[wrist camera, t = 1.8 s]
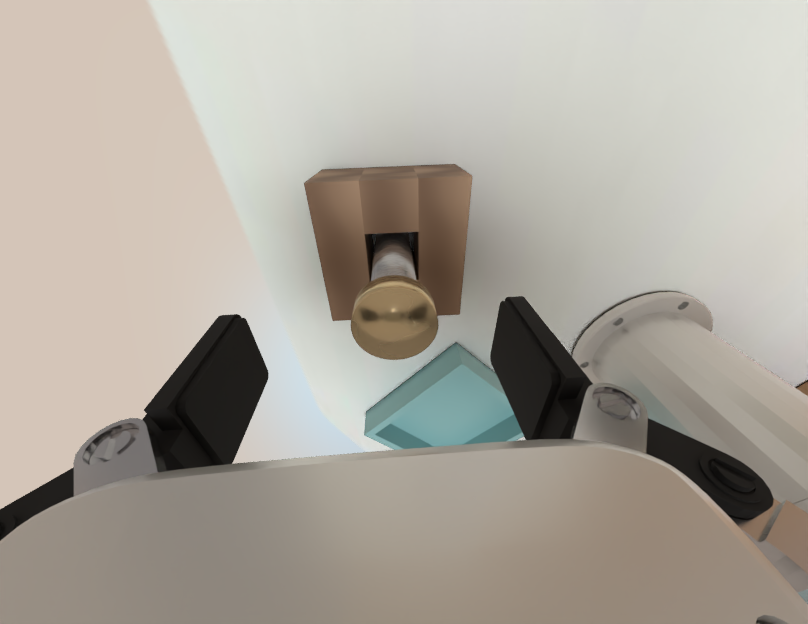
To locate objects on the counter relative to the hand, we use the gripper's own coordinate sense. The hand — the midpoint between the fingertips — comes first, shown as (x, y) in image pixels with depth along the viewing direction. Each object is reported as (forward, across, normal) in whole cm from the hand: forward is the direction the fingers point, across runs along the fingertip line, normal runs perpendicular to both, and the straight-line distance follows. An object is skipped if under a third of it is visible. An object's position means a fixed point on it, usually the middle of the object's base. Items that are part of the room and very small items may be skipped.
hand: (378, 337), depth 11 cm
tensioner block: (+13, -1, 0) cm, 13 cm away
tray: (+13, -7, +22) cm, 26 cm away
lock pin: (+13, -1, 0) cm, 13 cm away
